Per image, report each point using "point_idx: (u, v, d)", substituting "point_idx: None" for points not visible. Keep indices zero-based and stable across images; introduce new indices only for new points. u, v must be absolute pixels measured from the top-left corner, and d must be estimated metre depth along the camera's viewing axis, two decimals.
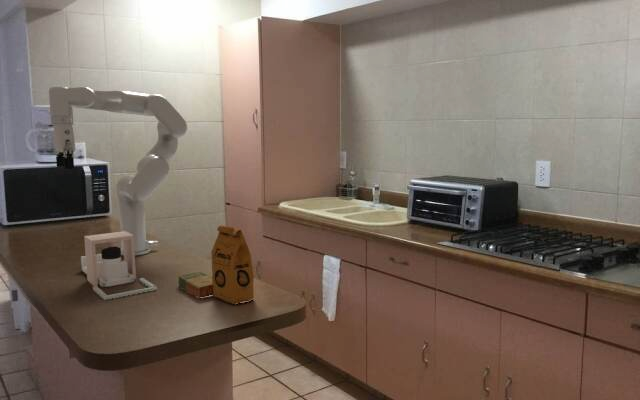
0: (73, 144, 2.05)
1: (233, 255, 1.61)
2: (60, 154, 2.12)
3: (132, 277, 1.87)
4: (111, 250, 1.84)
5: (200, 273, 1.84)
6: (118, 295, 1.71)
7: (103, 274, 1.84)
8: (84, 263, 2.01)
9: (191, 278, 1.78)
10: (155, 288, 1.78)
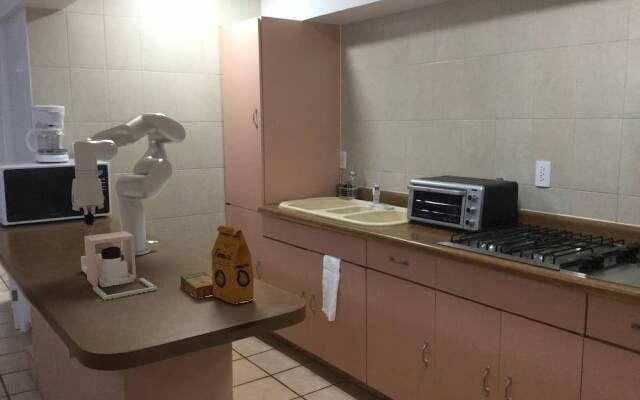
0: None
1: (233, 255, 1.61)
2: None
3: (132, 277, 1.87)
4: (111, 250, 1.84)
5: (202, 273, 1.84)
6: (118, 295, 1.71)
7: (103, 274, 1.84)
8: (84, 263, 2.01)
9: (192, 278, 1.78)
10: (155, 288, 1.78)
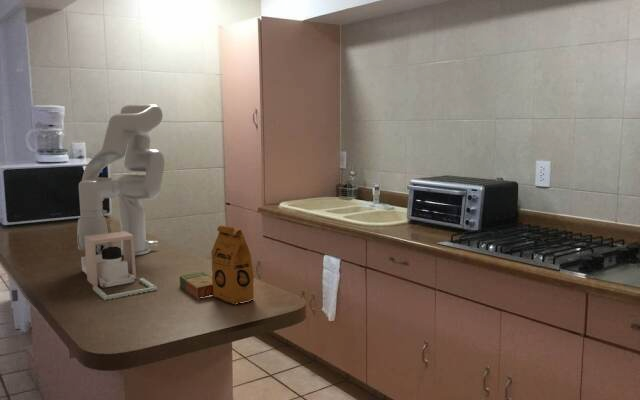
0: None
1: (233, 255, 1.61)
2: None
3: (132, 277, 1.86)
4: (111, 250, 1.84)
5: (201, 273, 1.84)
6: (118, 295, 1.71)
7: (103, 274, 1.84)
8: (84, 263, 2.01)
9: (192, 278, 1.78)
10: (155, 288, 1.78)
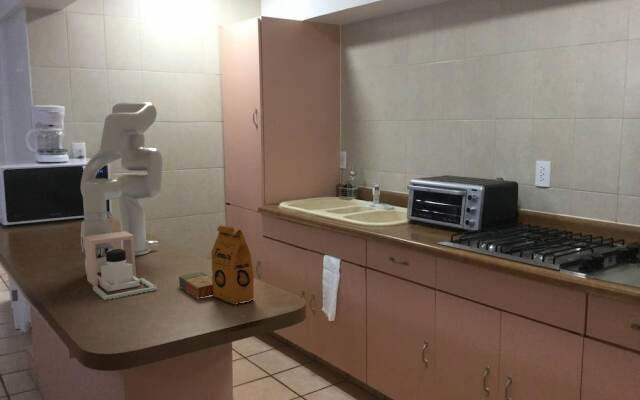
0: None
1: (233, 255, 1.61)
2: None
3: (138, 281, 1.82)
4: (116, 252, 1.80)
5: (201, 273, 1.84)
6: (118, 295, 1.71)
7: (108, 277, 1.80)
8: None
9: (192, 278, 1.78)
10: (155, 288, 1.78)
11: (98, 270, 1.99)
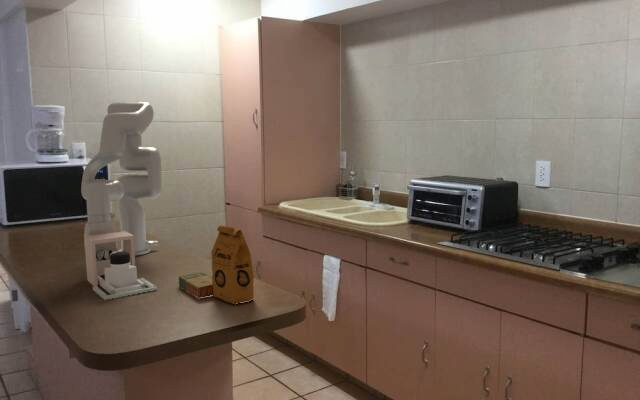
0: None
1: (233, 255, 1.61)
2: None
3: (142, 284, 1.78)
4: (120, 255, 1.77)
5: (200, 273, 1.84)
6: (118, 295, 1.71)
7: (112, 280, 1.77)
8: None
9: (191, 278, 1.78)
10: (155, 288, 1.78)
11: (102, 273, 1.95)
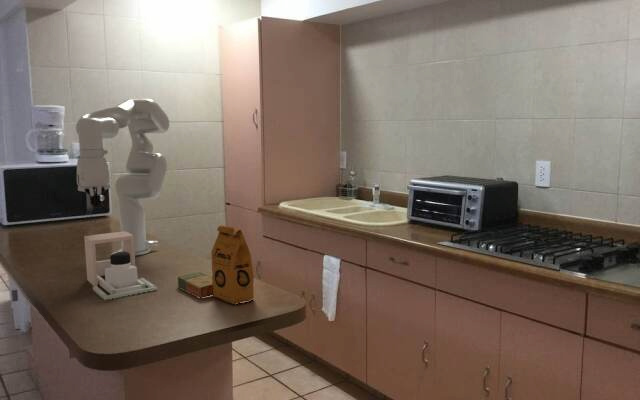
0: None
1: (233, 255, 1.61)
2: None
3: (143, 284, 1.78)
4: (121, 255, 1.77)
5: (199, 273, 1.84)
6: (118, 295, 1.71)
7: (112, 280, 1.77)
8: None
9: (191, 278, 1.78)
10: (155, 288, 1.78)
11: (102, 273, 1.95)
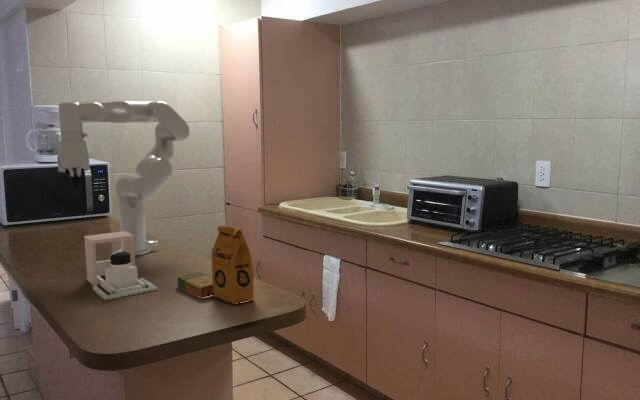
0: None
1: (233, 255, 1.61)
2: None
3: (143, 285, 1.78)
4: (121, 255, 1.77)
5: (199, 273, 1.84)
6: (118, 295, 1.71)
7: (113, 280, 1.77)
8: None
9: (191, 278, 1.78)
10: (155, 288, 1.78)
11: (102, 273, 1.94)
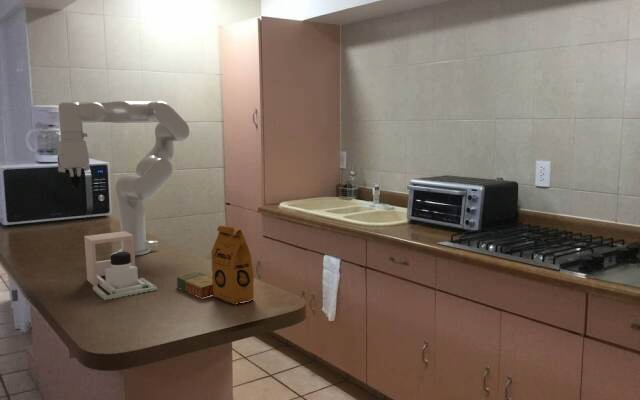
0: None
1: (233, 255, 1.61)
2: None
3: (143, 285, 1.78)
4: (121, 255, 1.77)
5: (198, 273, 1.84)
6: (118, 295, 1.71)
7: (113, 280, 1.77)
8: None
9: (191, 278, 1.78)
10: (155, 288, 1.78)
11: (102, 273, 1.94)
